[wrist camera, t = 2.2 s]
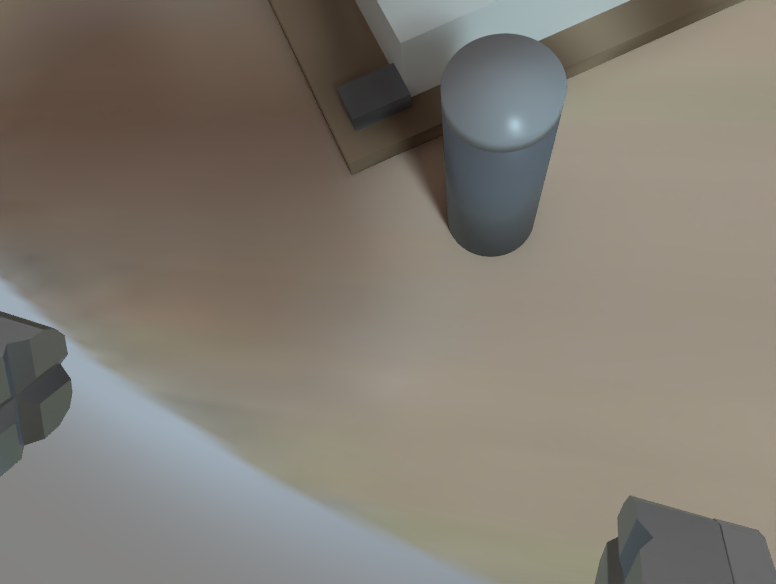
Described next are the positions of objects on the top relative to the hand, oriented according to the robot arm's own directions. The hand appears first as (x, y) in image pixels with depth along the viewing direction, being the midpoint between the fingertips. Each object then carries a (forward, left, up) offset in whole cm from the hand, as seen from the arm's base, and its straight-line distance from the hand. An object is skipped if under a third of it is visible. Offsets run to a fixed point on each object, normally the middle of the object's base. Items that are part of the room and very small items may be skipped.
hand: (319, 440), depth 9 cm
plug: (-8, -10, -19) cm, 23 cm away
